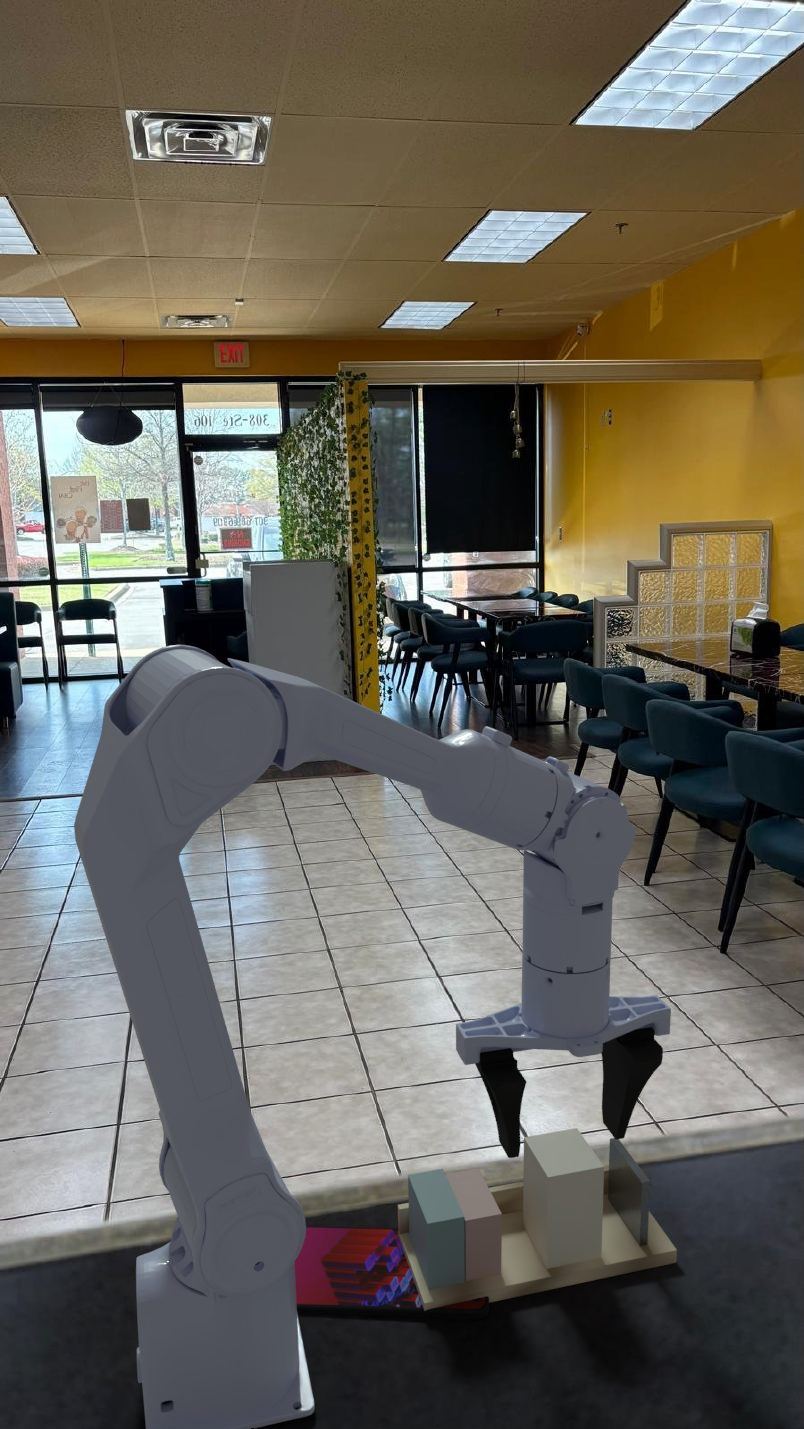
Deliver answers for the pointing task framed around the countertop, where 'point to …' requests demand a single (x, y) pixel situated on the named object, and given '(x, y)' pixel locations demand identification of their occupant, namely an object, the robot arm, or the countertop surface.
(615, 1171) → the bookend
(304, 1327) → the countertop surface
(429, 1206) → the shelved books
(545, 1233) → the book
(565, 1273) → the shelf board
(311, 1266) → the smartphone
